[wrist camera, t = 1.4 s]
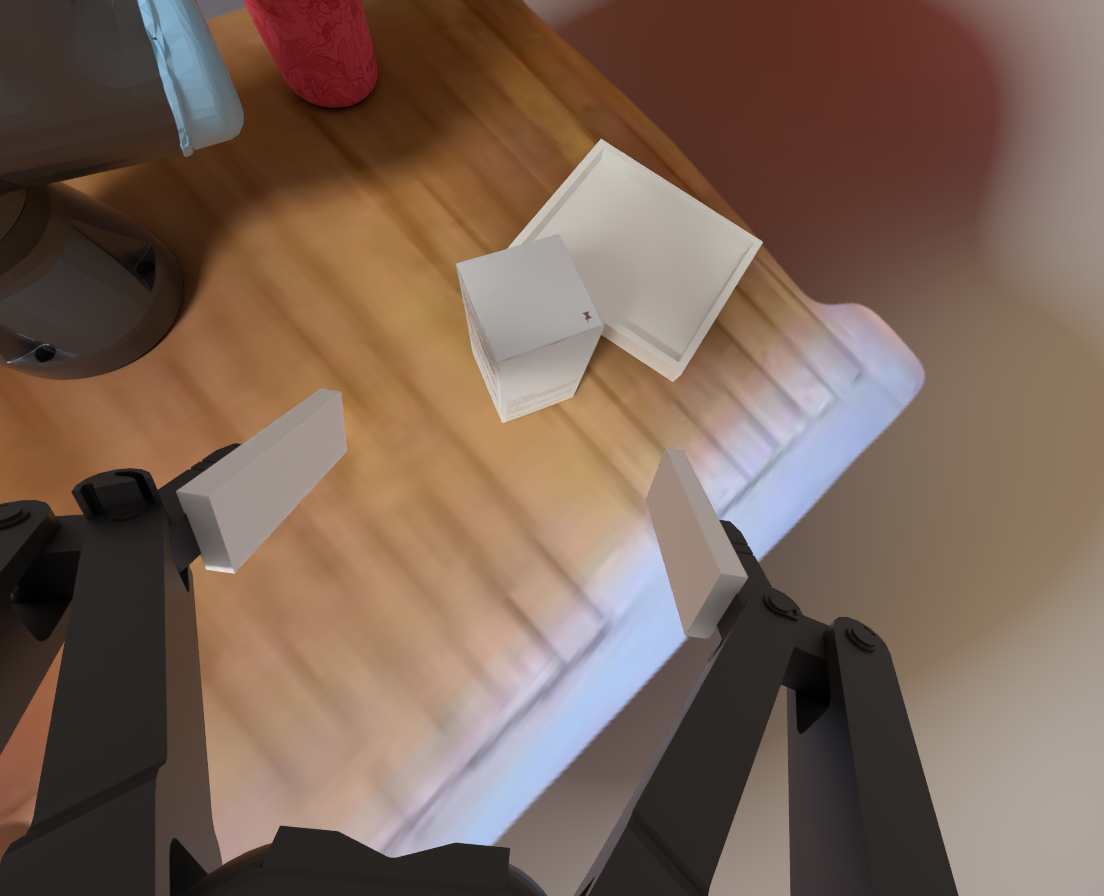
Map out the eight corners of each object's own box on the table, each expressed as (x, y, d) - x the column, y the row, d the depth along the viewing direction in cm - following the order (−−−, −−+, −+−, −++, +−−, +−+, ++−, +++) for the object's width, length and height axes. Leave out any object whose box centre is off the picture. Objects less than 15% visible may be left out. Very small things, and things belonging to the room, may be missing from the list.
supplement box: (544, 330, 38) (563, 229, 25) (574, 398, 36) (609, 327, 24) (470, 353, 36) (452, 258, 24) (499, 425, 35) (496, 364, 23)
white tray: (501, 269, 39) (501, 255, 37) (596, 156, 43) (601, 138, 41) (672, 382, 38) (681, 373, 36) (751, 255, 42) (763, 242, 40)
